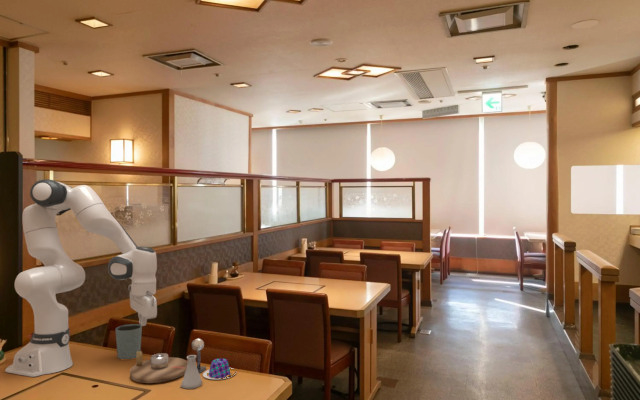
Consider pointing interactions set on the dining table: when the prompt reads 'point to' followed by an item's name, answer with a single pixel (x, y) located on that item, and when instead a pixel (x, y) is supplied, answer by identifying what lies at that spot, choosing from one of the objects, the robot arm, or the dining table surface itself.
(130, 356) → the grey green cup
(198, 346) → the grey knobbed rod
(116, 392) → the dining table surface
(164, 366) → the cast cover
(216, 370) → the pudding
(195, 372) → the flask
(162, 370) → the turntable
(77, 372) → the dining table surface
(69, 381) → the dining table surface
